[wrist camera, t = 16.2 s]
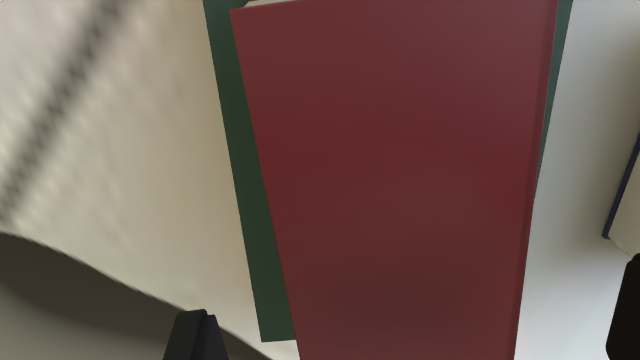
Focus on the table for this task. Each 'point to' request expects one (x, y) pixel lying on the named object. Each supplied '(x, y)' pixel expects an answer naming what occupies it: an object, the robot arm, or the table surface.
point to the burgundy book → (399, 167)
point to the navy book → (627, 209)
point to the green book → (249, 174)
